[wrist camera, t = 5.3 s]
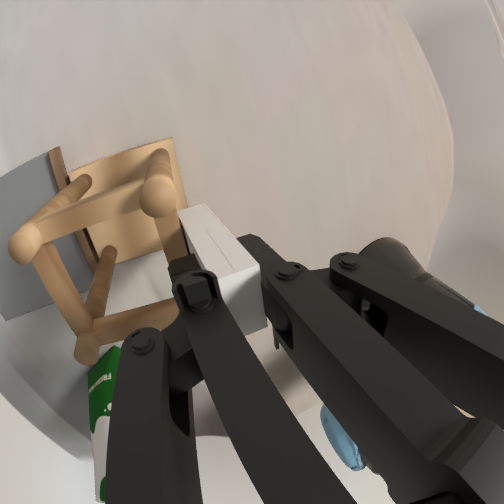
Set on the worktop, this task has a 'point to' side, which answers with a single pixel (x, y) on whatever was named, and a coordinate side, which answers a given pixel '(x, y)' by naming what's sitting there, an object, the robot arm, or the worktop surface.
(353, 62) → the worktop surface
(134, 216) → the stool
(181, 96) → the worktop surface
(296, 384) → the worktop surface
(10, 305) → the mat
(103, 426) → the milk carton
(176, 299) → the robot arm
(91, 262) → the strip
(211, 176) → the worktop surface
